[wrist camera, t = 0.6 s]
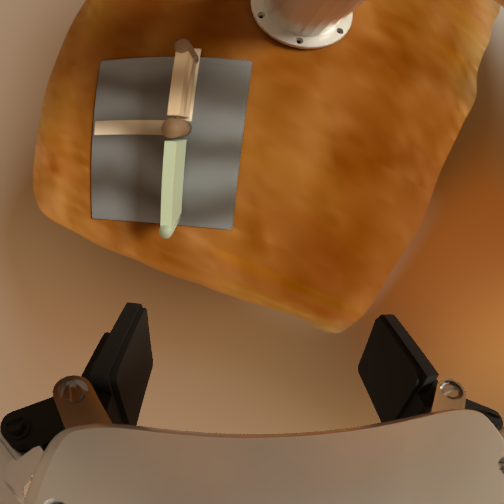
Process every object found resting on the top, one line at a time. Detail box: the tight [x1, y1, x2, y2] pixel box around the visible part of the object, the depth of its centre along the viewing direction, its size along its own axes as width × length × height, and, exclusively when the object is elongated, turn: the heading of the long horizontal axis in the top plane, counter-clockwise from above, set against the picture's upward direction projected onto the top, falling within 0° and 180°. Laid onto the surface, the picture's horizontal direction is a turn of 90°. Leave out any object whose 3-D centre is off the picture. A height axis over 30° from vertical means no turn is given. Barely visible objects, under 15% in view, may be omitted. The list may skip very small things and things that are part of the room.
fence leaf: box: [159, 139, 187, 238], centre depth 31 cm, size 10×1×6 cm, turn 173°
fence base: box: [91, 38, 252, 230], centre depth 29 cm, size 22×19×7 cm
